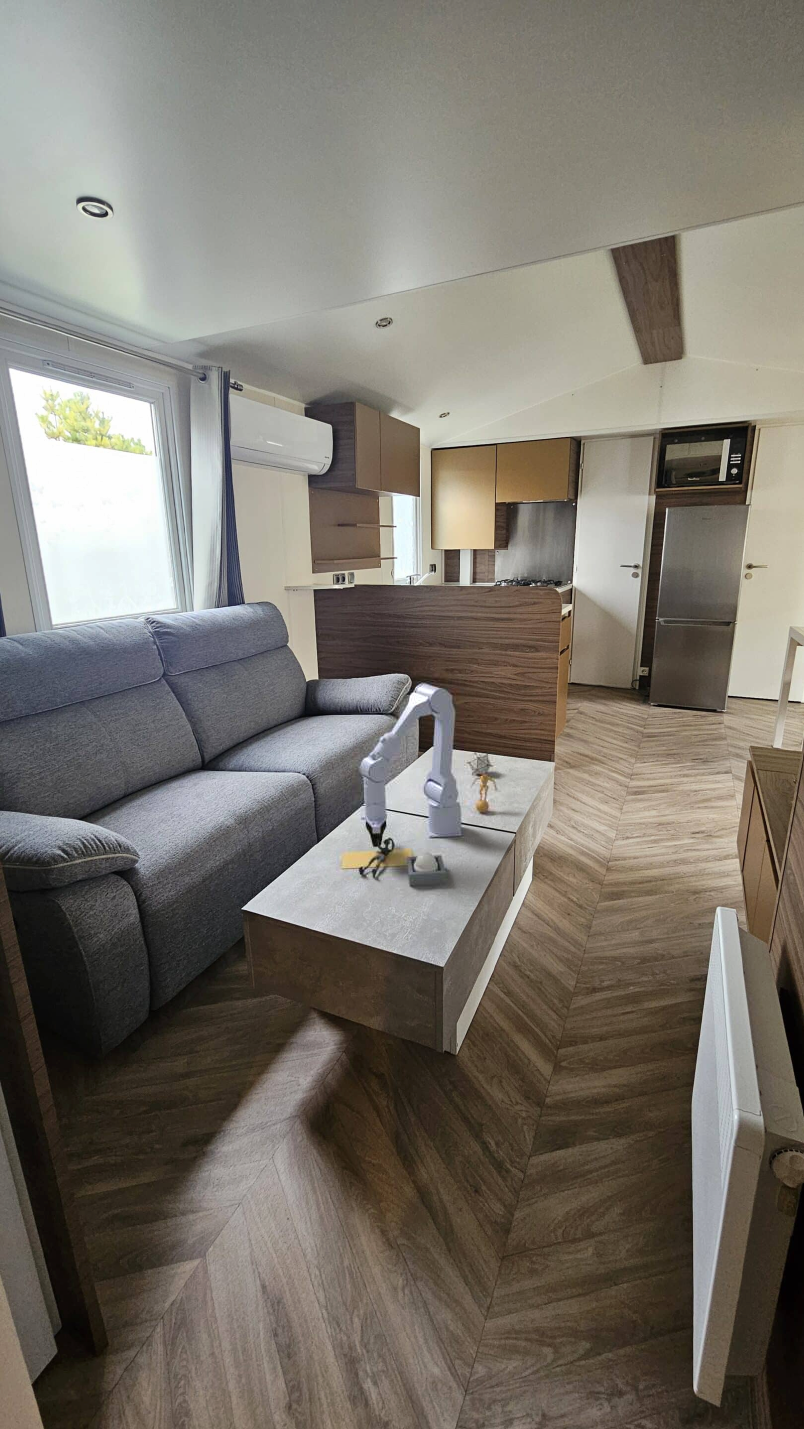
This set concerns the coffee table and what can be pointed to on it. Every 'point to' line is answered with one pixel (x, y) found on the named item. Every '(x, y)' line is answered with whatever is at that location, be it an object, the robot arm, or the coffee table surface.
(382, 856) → the zombie figurine
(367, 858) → the yellow rectangular panel
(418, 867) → the popper dome
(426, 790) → the robot arm
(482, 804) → the figurine
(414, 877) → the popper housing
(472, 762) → the grey spiky lattice polyhedron
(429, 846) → the coffee table surface
